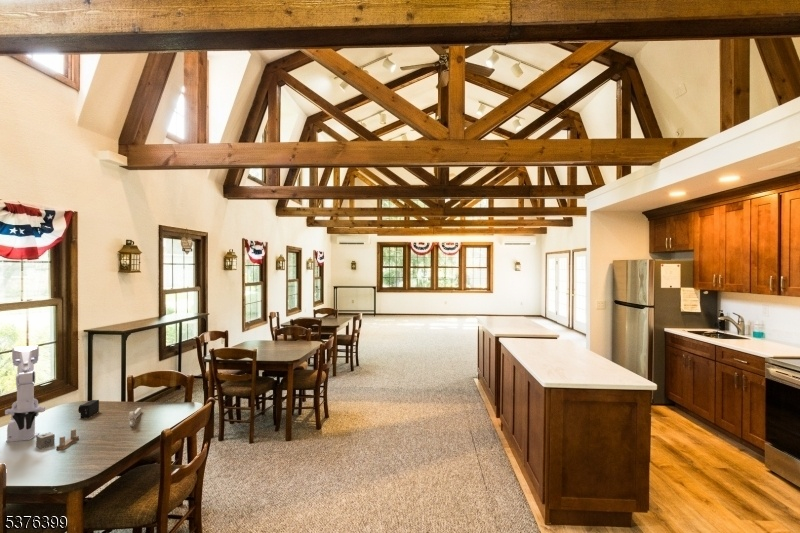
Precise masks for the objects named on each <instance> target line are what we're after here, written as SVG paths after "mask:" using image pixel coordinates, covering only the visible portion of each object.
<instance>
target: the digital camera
mask: <svg viewBox="0 0 800 533" xmlns="http://www.w3.org/2000/svg"><path fill="white" fill-rule="evenodd" d="M77 411H78V413H79V414H80V419H89V417H90V418H91V416H92V417H93V416H94V414H95V415H96V414H98V413H99V412H100V400H99V399H93V400H92V399H91V400H89V401H87V402H85V403H82V404H80V405H79V406H78V410H77ZM98 411H99V412H98ZM97 412H98V413H97Z"/></svg>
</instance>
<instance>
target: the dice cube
mask: <svg viewBox="0 0 800 533" xmlns="http://www.w3.org/2000/svg"><path fill="white" fill-rule="evenodd" d="M35 437H36V439H35V441H36V442H35V444H36V445H35V446H36V448H38V449H40V450H42V449H46V448H49V447H50V448H51V447H53V446H55V444H56V443H55V442H56V441H55V440H56V439H55V433H52V432H45V433H42V434H38V435H37V436H35Z"/></svg>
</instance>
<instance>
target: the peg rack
mask: <svg viewBox="0 0 800 533" xmlns="http://www.w3.org/2000/svg"><path fill="white" fill-rule="evenodd" d="M79 439H80V437H79V435H77V428H74V429H73V428H72V429H70V437H68V438H67V439H66V436H65V435H64V436H63V435H62V436H60V437H59V441H58V443H59V444H58V445H57V446H56V447H55V448H56V451H61V450H65V449H67V448H68V447H70V446H71V445H72V444H74V443H75V442H77V441H78V440H79Z"/></svg>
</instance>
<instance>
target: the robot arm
mask: <svg viewBox="0 0 800 533" xmlns="http://www.w3.org/2000/svg"><path fill="white" fill-rule="evenodd" d="M39 347H40V346H39V345H38V344H36V345H26V346H24V345H23V346H14V347H12V349H11V352H12V353H11V355H12V356H11V359H12V365H13V366H15V367H17V372H16V375H15V385H16V401H14V402H13V403H12V404H11V408H7V409H5V410H4V415H6V416H7V415H10V421H9V422H8V425H7V428H6V429H7V430H6V436H7V437H6V441H5V442H6V443H8V442H9V443H10V442H20V441H21V442H22V441H29V440H31V439H33V438H35V437H36V436H38V435H40V432H36V417H38V416H39V413H43V412H45V411H46V406H39V400H38V399H37V398H35V395H34V394H35V390H34V389H35V384H36V372H35V365H36V364H38V361H39V356H40V353H39V351H40V348H39Z"/></svg>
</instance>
